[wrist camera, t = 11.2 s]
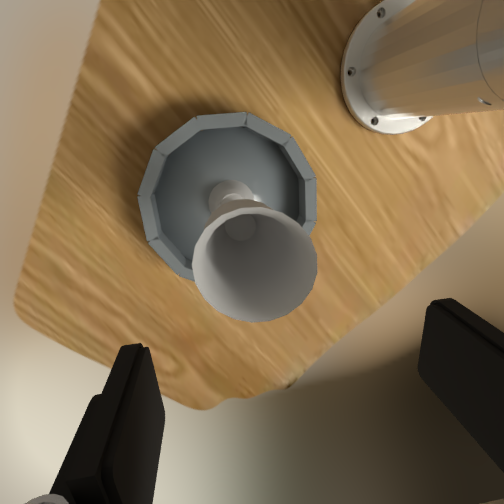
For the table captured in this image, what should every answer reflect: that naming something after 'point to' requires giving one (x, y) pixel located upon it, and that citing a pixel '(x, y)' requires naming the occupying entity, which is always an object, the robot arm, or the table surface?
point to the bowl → (220, 180)
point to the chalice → (252, 257)
